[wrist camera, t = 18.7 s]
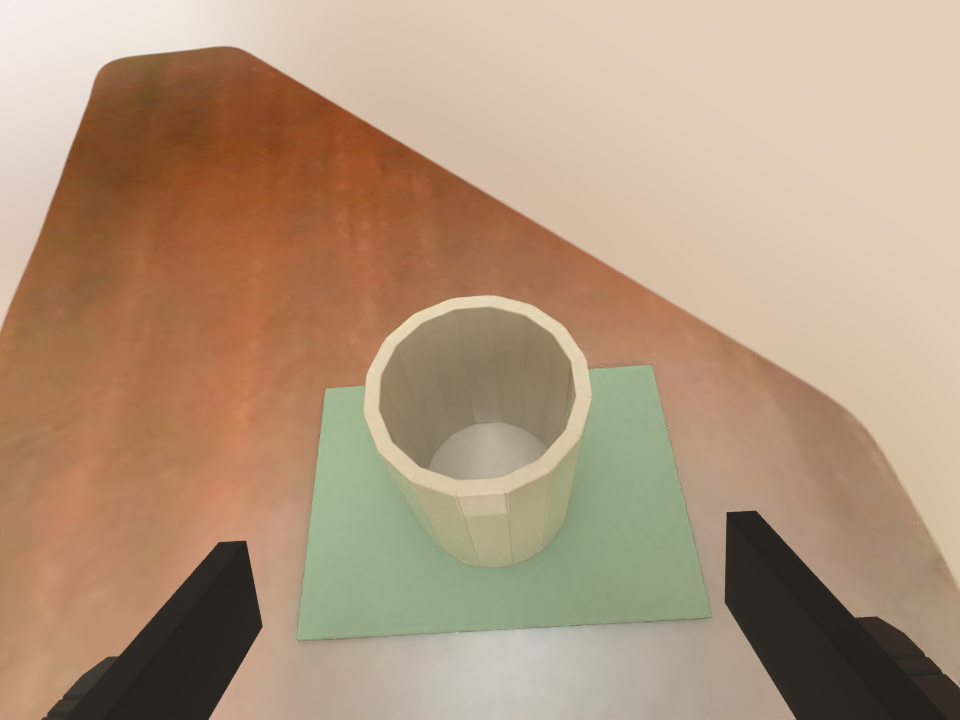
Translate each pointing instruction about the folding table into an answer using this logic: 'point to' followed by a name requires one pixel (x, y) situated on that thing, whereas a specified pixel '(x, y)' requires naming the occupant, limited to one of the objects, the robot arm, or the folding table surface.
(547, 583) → the place mat
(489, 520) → the cup
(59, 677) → the folding table surface
